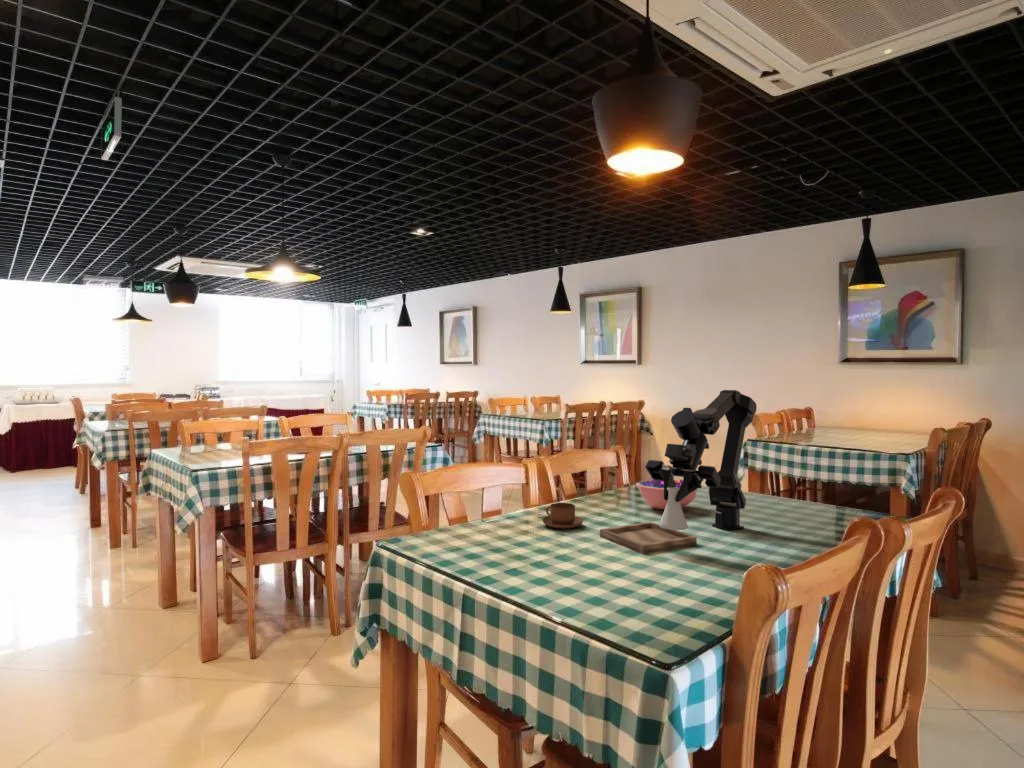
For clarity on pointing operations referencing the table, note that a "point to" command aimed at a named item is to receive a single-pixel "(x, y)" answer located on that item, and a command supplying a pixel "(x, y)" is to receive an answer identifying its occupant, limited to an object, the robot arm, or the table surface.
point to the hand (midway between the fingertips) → (670, 500)
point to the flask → (673, 513)
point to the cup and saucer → (562, 516)
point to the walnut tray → (647, 537)
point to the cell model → (660, 493)
